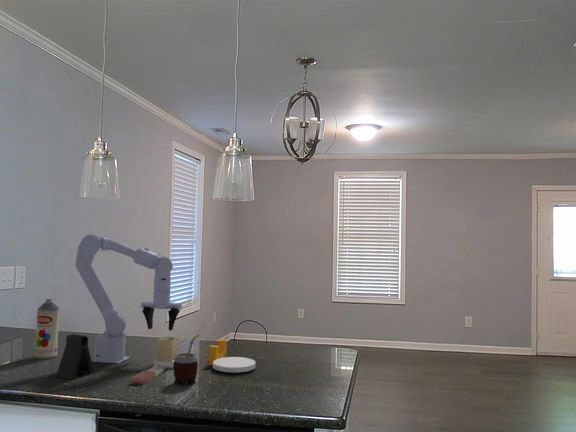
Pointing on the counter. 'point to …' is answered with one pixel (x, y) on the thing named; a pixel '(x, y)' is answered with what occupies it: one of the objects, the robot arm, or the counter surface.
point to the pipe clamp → (217, 351)
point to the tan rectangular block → (166, 349)
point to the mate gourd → (186, 366)
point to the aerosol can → (47, 331)
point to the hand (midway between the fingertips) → (160, 329)
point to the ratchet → (151, 372)
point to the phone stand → (75, 358)
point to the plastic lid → (234, 364)
